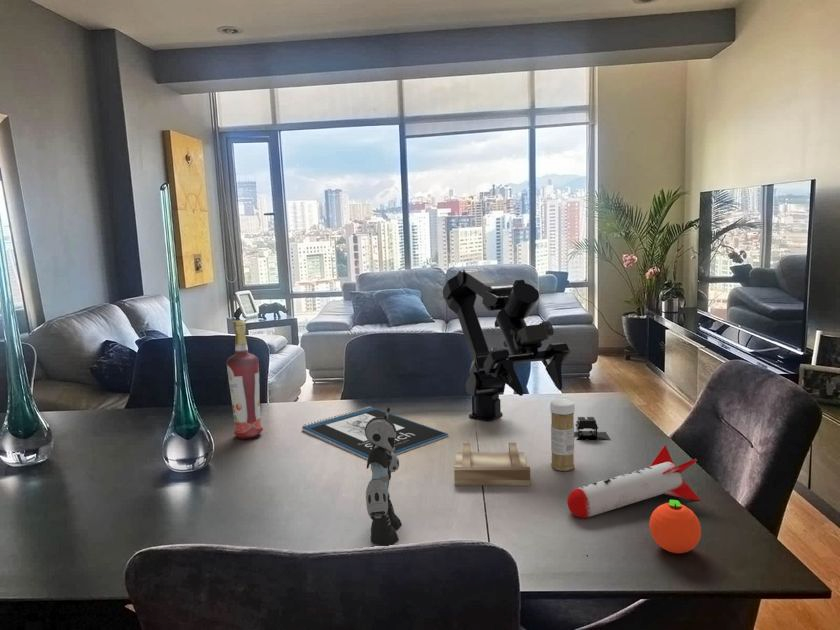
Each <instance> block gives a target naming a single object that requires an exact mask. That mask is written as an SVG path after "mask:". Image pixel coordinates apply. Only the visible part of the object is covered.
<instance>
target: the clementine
mask: <svg viewBox="0 0 840 630" xmlns="http://www.w3.org/2000/svg"><path fill="white" fill-rule="evenodd" d="M648 523H649V524H648V525H649V532H650V534H651V536H652V539H653V540H654V541H655V543H656V544H657V545H658V546H659V547H661V548H662V549H663V550H666V551H667V552H669V553H673V554H683V553H688V552H690V551H692V550H693V549H694V548H696V547H697V545H698V543H699V541H700V540H701V537H702V528H701V522H700V521H699V518H698V517H697V515H696V514H695V512H694V511H693V510H692V509H690V508H689V507H687V506H686V505H685V504H681V502H680V501H679V500H677V499H669V501H668V502H665V503H663V504H660V505H658V506H657V507H655V509H654V510H653V511H652V513H651V516H650V518H649V522H648Z"/></svg>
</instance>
